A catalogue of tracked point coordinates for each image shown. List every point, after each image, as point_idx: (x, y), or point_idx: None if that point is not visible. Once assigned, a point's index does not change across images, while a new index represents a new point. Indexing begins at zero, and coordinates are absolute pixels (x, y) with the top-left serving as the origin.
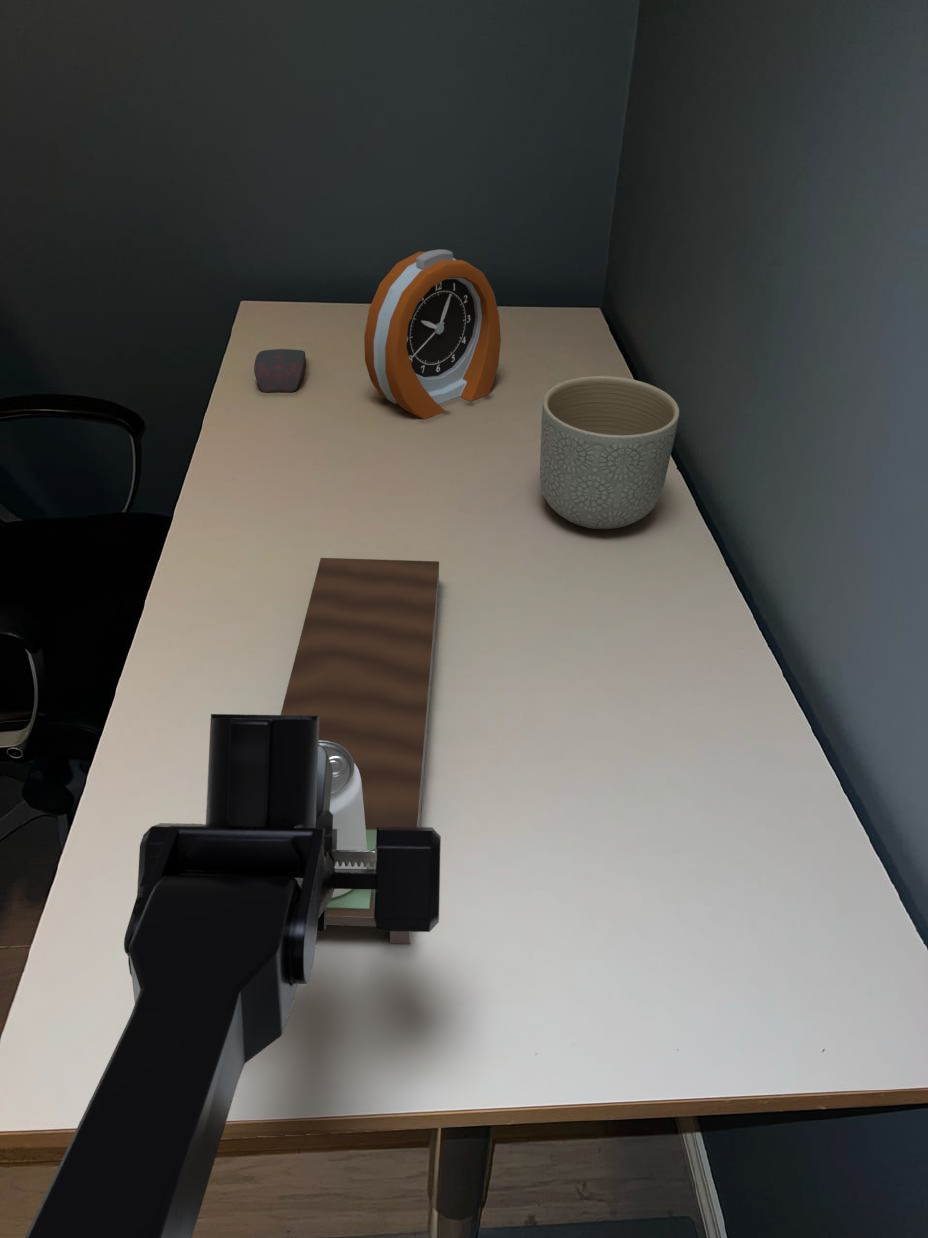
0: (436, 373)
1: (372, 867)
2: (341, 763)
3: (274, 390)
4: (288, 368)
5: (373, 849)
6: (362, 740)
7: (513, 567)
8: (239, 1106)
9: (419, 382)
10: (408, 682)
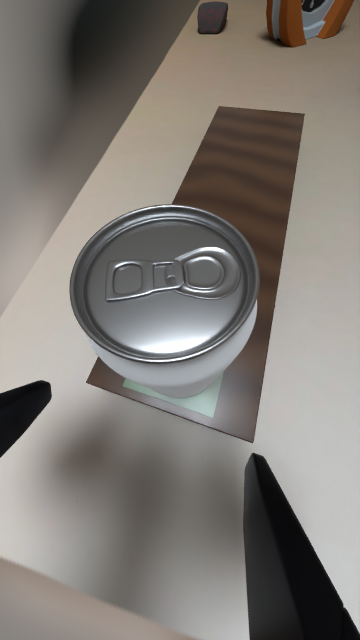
0: (309, 9)
1: (261, 576)
2: (225, 266)
3: (206, 31)
4: (217, 12)
5: (292, 600)
6: None
7: (349, 133)
8: (61, 571)
9: (301, 5)
10: (274, 197)
